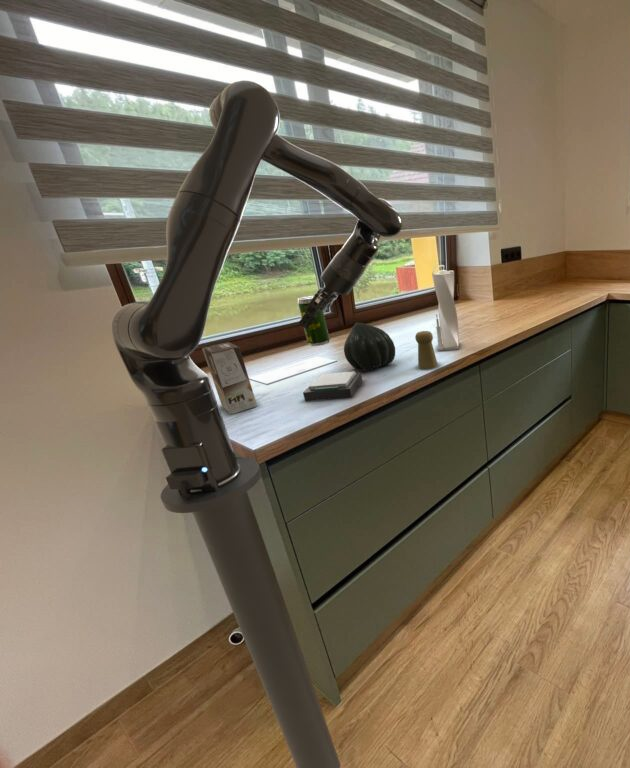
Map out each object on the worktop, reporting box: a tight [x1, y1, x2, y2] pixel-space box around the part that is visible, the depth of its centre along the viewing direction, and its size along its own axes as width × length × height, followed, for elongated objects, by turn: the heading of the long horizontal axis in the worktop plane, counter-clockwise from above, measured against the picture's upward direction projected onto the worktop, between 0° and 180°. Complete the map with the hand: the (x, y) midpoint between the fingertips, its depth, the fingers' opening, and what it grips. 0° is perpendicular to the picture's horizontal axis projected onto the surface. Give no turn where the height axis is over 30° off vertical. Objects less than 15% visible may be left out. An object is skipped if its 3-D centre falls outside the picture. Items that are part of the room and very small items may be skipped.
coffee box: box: [201, 341, 258, 415], centre depth 108 cm, size 9×6×16 cm
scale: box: [302, 371, 363, 402], centre depth 116 cm, size 12×12×4 cm
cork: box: [414, 330, 439, 370], centre depth 130 cm, size 6×6×11 cm
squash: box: [343, 322, 396, 372], centre depth 133 cm, size 14×15×15 cm
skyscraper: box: [431, 264, 460, 352], centre depth 146 cm, size 8×8×28 cm
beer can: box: [297, 295, 331, 347], centre depth 109 cm, size 5×5×12 cm
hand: (307, 322), depth 109 cm, fingers closed on beer can, 5 cm apart
